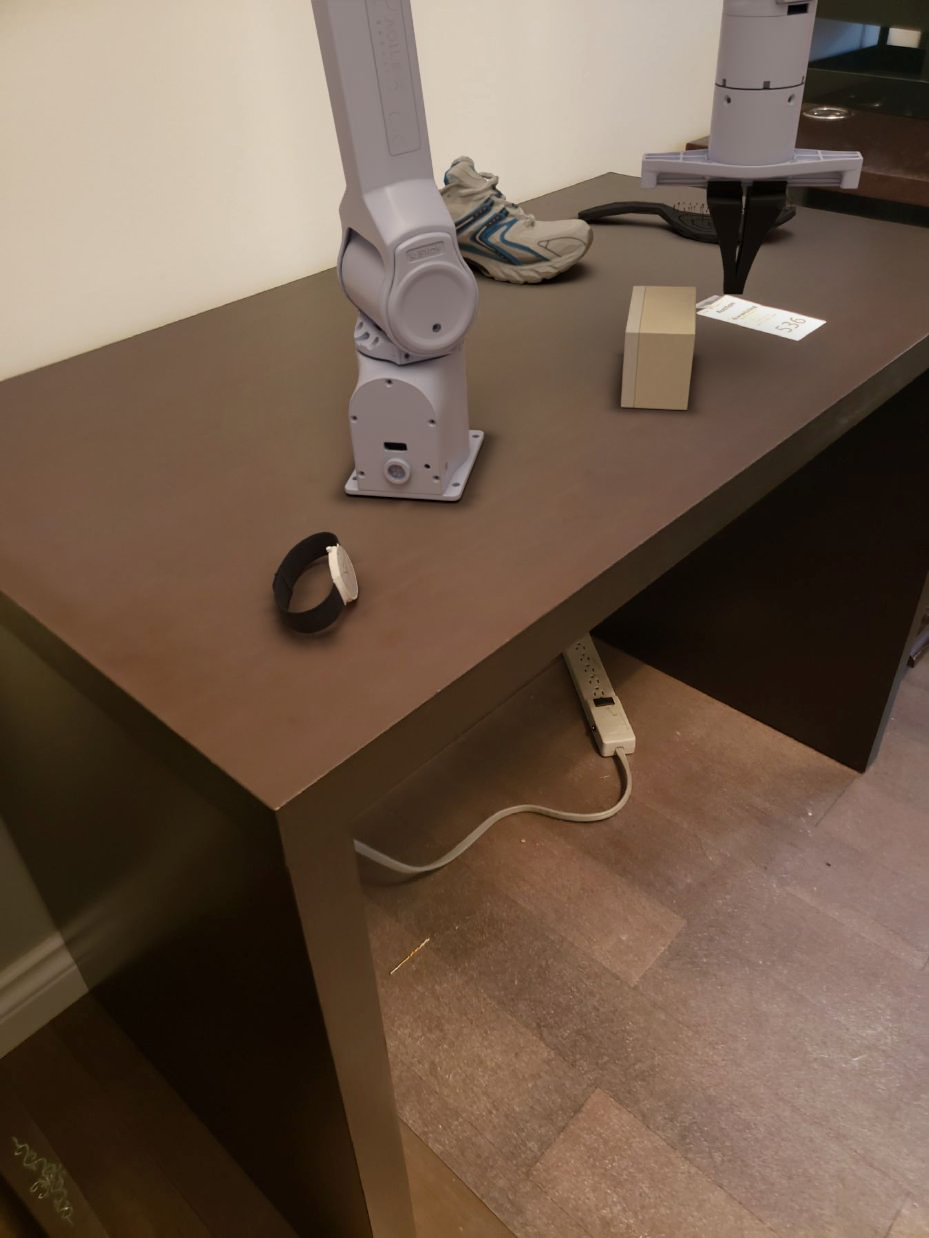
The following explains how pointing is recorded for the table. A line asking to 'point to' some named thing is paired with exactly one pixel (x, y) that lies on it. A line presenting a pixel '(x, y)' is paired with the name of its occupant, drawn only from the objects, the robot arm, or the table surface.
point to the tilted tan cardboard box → (659, 347)
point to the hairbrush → (676, 217)
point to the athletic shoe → (508, 230)
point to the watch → (341, 576)
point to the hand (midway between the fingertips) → (732, 290)
